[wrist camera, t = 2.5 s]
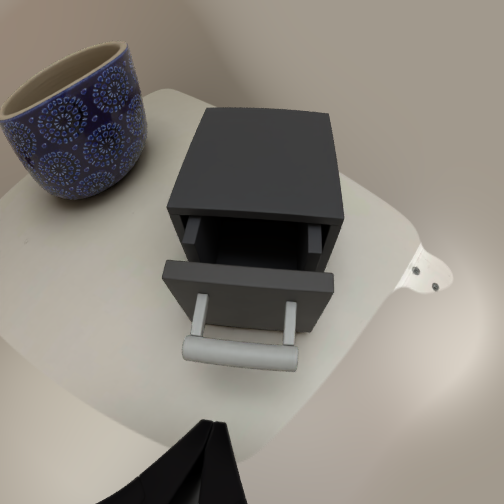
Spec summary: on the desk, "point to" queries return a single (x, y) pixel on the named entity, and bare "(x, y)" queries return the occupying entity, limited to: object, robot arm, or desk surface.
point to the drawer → (249, 287)
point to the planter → (79, 121)
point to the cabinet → (261, 171)
